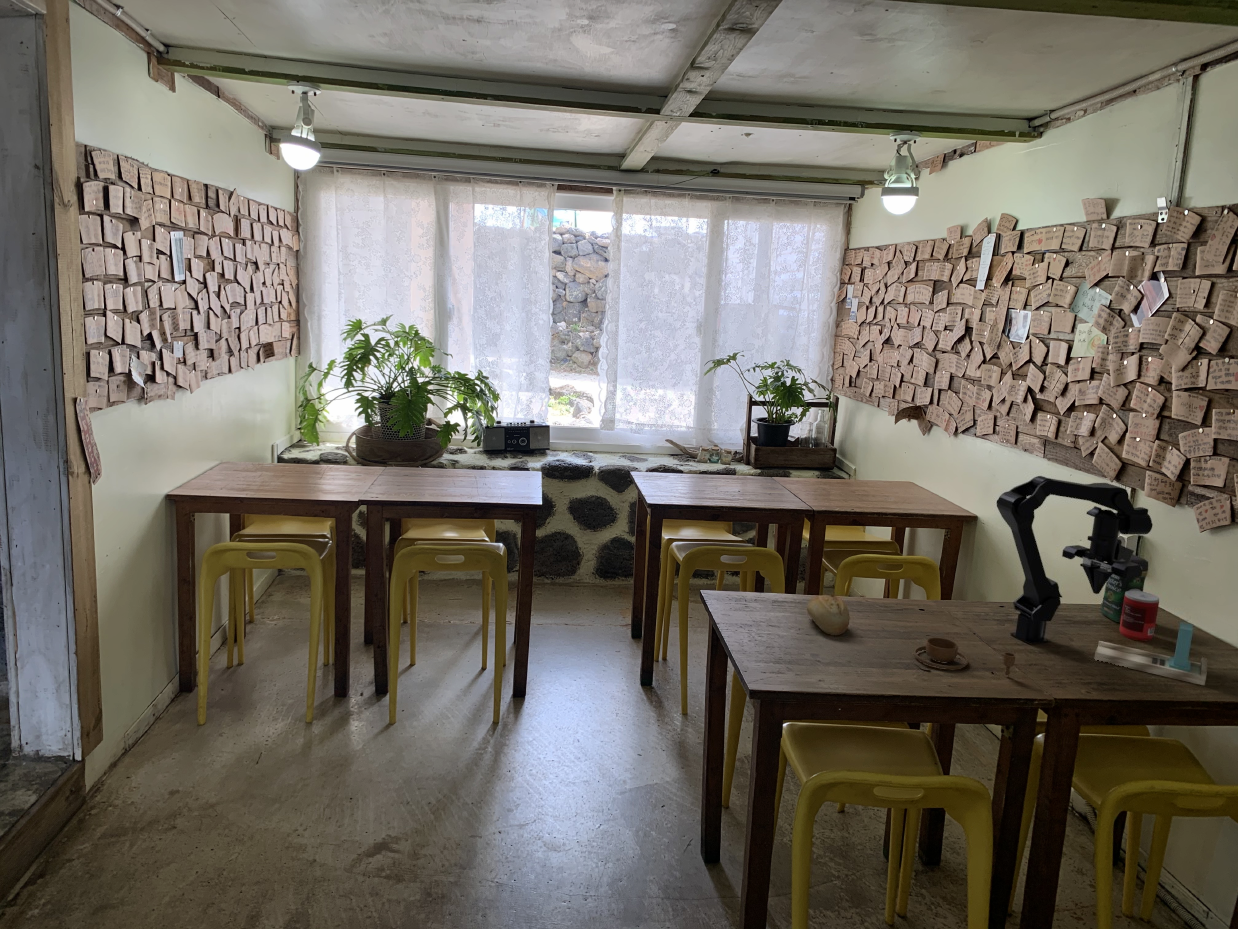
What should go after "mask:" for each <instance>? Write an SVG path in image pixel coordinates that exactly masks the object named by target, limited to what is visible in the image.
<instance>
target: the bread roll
mask: <svg viewBox="0 0 1238 929" xmlns="http://www.w3.org/2000/svg"><path fill="white" fill-rule="evenodd" d="M806 612H807V614H808V616H809V617H810V618H811V619H812V621H814V623H815V624H816V626H818V627H819V629H821V630H822V631H823V632H824V633H825V634H828V635H829V634H831V635H830V636H834V635H835V636H839V635H843V634H844V633H845V632H846V630H847V629H848V628H849V626H850V621H851V620H850V619H851V616H850V611H849V608H848V606H847V604H846V602H845V601H844V600H843V599H842V598H841V597H839V596H837V595H834V594H831V595H828V594H824V595H817V596H815V597H813V598H811V599H810V600H809V602H808V604H807V605H806Z"/></svg>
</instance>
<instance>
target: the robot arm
mask: <svg viewBox="0 0 1238 929" xmlns="http://www.w3.org/2000/svg"><path fill="white" fill-rule="evenodd" d="M1050 496H1058V497H1063V498H1070V499H1075V500H1082V501H1088V502H1092V503H1094V504H1096V505H1099V506H1102V507H1105V508H1108V509H1102V507H1099V506H1096V505H1095V506H1093V507H1092V508H1091V509H1089V510H1088V511H1086V515H1088V516H1091V517H1093V518H1094V519H1093V524H1092V530H1091V531H1092V532H1091V535H1088V536H1087V541H1090V546H1089V547H1086V546H1083V545H1080V544H1078V545H1067V546H1065V547H1064V548H1063V549H1062V552H1061V553H1062V554H1061V557H1063V558H1065V559H1068V560H1074V559H1075V558H1080V559H1082V563H1080V564H1079V565H1080V567H1082V569H1083V570H1084V573H1085V575H1086V577H1087V580H1088V582H1089V585H1090V587H1091V590H1092V593H1093V594H1095V595H1098V594H1100V593H1101V591H1102V590H1103V588H1104V586H1106V583H1107V580H1108V579H1109V577H1110V576H1111V575H1113V574H1114V575H1117V576H1120V577H1123V578H1131V577H1140V576H1142V567H1141V566H1140V565H1138V564H1135V563H1132V562H1130V559H1131V557H1132V555H1133V554H1134V552H1135V551H1134V550H1133V549H1130V548H1128V547H1126V546H1123V545H1122V543H1123V542H1122V539H1120V538H1119V533H1120V534H1121V535H1140V536H1141V535H1148V534H1150V532H1151V531H1152V529H1153V522H1152V518H1151V516H1150V514H1149V509H1148V508H1146V507H1143V506H1142V507H1141V506H1139V507H1138V506H1137V507H1134V506H1133V504H1132V502H1131V499H1130V498H1129V497H1130V496H1129V492H1128V489H1126V488H1124V487H1120V486H1117V485H1114V484H1111V483H1109V482H1092V483H1085V484H1084V483H1079V482H1073V481H1069V480H1068V481H1067V480H1063V479H1062V480H1061V479H1056V478H1050V477H1046V476H1042V475H1037V476H1035V477H1033V478H1032V479H1030V480H1029V481H1027V482H1024V483H1022V484H1019V485H1016V486H1014V487H1012V488H1011V489H1010V490H1008V491H1005V492H1003V493H1001V494H1000V495H999V497H998V499H997V500H996V507H997V510H998V511H999V513H1000V515H1001V518H1002V519H1003V520H1004V521H1005V524H1007V526H1008V527H1009V528H1010V530H1011V533H1012V537H1013V541H1014V544H1015V548H1016V550H1017V554H1018V557H1019V561H1020V564H1021V568H1022V571H1023V575H1024V582H1023V585H1022V591H1023V592H1022V594H1021V595H1020V596H1019V597H1017V598H1016V599H1015V600H1014V601H1013V604H1012V605H1013V608H1014V610H1015V611H1017V612H1019V613H1017V619H1016V620H1017V621H1016V629H1015V631H1014V632H1010V636H1012V637H1014V638H1016V639H1018V640H1020V641H1023V642H1024V643H1027V644H1029V645H1033V644H1042V643H1048V642H1049V641H1050V640H1049V639H1048V638H1046V637H1045V636H1046V630H1047V622H1051V621H1052V620H1053V618H1054V616H1055V614H1056V612H1057V610H1058V609H1059V607H1060V606H1061V598H1063V595H1062V594H1061V592H1060V586H1059V584H1058V582H1056V581H1055V580H1053V579H1051V578H1049V577H1047V575H1046V572H1045V568H1044V564H1043V561H1042V557H1041V554H1040V550H1039V546H1038V544H1037V540H1036V537H1035V533H1034V530H1033V523H1034V520H1035V511H1036V510H1037V509H1039V508H1041V506H1042V505H1043V504H1044V503H1045V500H1046V499H1047V498H1048V497H1050ZM1114 511H1116V512H1114ZM1121 559H1123V560H1125V561H1123V562H1116V561H1114V560H1121Z"/></svg>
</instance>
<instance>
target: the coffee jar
mask: <svg viewBox="0 0 1238 929" xmlns="http://www.w3.org/2000/svg"><path fill="white" fill-rule="evenodd" d="M1114 561H1116V562H1123V561H1125V560H1123V559H1121V560H1114ZM1130 562H1132V563H1135V564H1138V565H1140V566H1141V567H1142V576H1140V577H1131V578H1123V577H1120V576H1117V575H1114V574H1113V575H1111V576H1110V577H1109V579H1108V580H1107V582H1106V583H1105V588H1104V593H1103V598H1102V602H1101V608H1100V612H1101V614H1102V615H1103V616H1105V617H1106V618H1108V619H1110V620H1112V621H1114V622H1116V623H1120V622H1121V616H1122V609H1123V602H1124V597H1125V592H1127V591H1142V592H1144V587H1145V580H1146V578H1147V576H1148V572H1149V561H1148V560H1147V559H1145V558H1143V557H1140V556H1138V555H1135V554H1134V553H1133V555H1132V557H1131V559H1130Z"/></svg>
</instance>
